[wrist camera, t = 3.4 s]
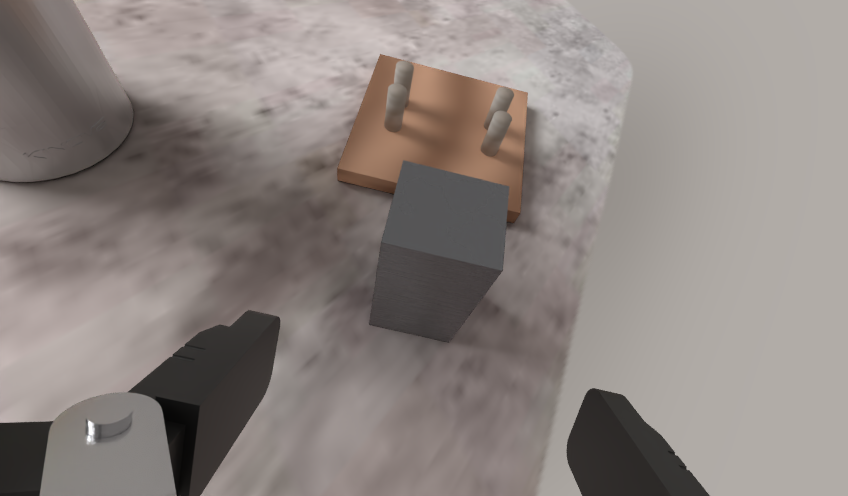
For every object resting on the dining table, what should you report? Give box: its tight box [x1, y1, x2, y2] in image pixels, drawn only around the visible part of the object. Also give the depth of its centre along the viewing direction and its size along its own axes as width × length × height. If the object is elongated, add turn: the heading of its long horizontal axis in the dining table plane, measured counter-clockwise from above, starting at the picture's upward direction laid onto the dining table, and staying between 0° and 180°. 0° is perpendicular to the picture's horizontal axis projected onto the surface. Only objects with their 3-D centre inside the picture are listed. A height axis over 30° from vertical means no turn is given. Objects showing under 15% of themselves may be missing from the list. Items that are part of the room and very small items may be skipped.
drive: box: [369, 160, 509, 342], centre depth 19 cm, size 4×4×9 cm
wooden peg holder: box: [337, 54, 528, 223], centre depth 28 cm, size 12×12×4 cm
